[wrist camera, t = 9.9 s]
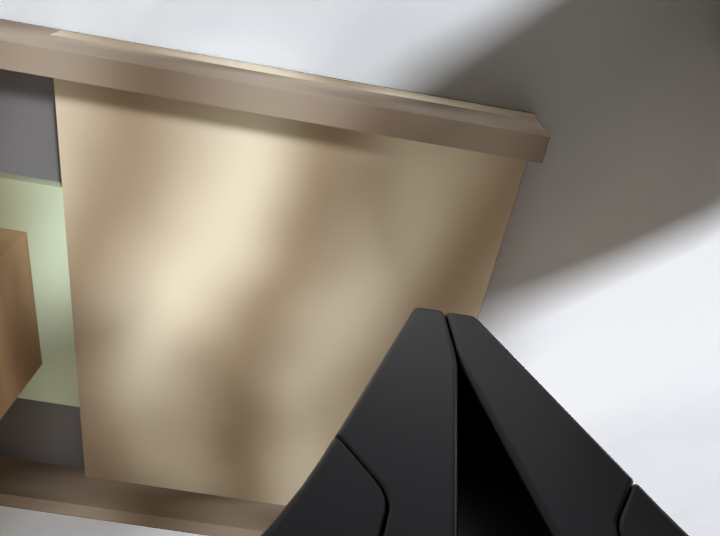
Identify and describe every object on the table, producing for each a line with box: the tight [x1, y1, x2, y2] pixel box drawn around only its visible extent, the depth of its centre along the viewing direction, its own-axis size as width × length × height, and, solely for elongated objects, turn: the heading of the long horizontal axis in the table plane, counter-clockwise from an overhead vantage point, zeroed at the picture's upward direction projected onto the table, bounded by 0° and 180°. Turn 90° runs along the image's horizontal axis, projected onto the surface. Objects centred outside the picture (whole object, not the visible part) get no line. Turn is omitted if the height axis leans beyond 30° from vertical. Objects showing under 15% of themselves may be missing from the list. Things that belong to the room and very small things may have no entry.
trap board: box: [0, 19, 550, 536], centre depth 24 cm, size 22×20×2 cm
